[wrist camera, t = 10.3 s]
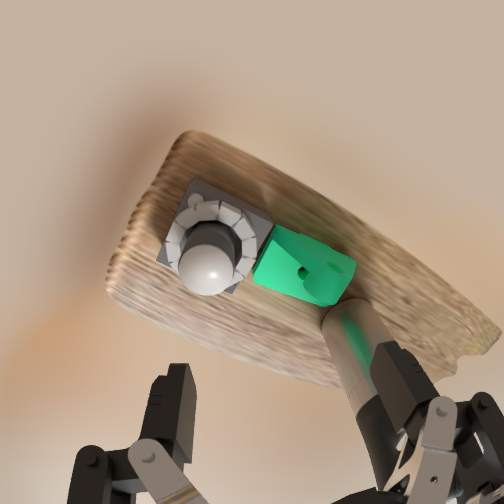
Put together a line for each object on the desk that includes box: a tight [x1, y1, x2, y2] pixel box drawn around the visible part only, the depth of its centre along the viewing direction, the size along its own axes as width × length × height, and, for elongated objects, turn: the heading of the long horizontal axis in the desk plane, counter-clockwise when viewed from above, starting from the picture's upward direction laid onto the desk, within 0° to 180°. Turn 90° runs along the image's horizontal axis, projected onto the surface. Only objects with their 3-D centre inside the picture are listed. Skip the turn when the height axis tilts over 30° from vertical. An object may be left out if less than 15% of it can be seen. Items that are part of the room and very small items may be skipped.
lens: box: [178, 220, 235, 296], centre depth 27 cm, size 5×5×8 cm
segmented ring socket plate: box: [156, 177, 274, 294], centre depth 31 cm, size 10×10×6 cm
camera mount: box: [252, 224, 357, 307], centre depth 32 cm, size 12×8×10 cm, turn 65°
